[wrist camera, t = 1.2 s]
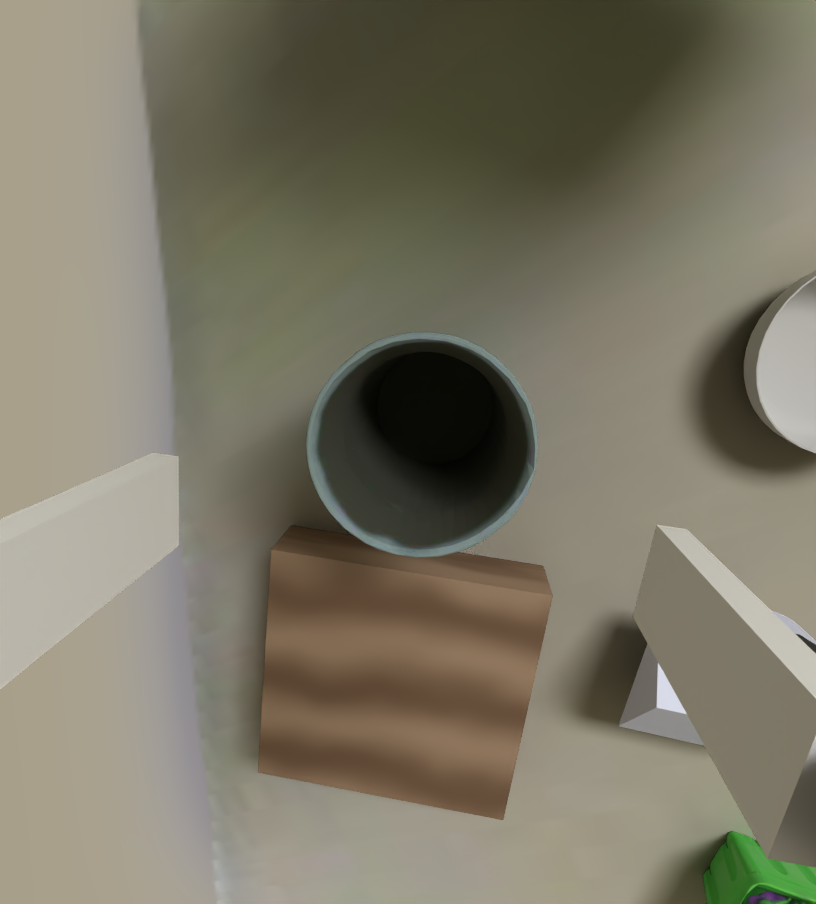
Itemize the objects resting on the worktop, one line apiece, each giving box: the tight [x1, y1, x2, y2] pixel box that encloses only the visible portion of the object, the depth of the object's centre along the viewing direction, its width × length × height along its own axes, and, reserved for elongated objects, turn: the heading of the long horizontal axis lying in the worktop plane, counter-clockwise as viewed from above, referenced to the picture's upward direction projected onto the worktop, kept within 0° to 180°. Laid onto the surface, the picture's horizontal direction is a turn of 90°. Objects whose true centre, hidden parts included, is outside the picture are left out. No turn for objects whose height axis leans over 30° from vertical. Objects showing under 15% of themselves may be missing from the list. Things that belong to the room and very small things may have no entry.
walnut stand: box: [258, 526, 553, 820], centre depth 37 cm, size 18×18×4 cm
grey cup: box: [306, 332, 538, 558], centre depth 28 cm, size 10×10×12 cm
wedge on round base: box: [619, 611, 816, 746], centre depth 33 cm, size 9×7×13 cm
